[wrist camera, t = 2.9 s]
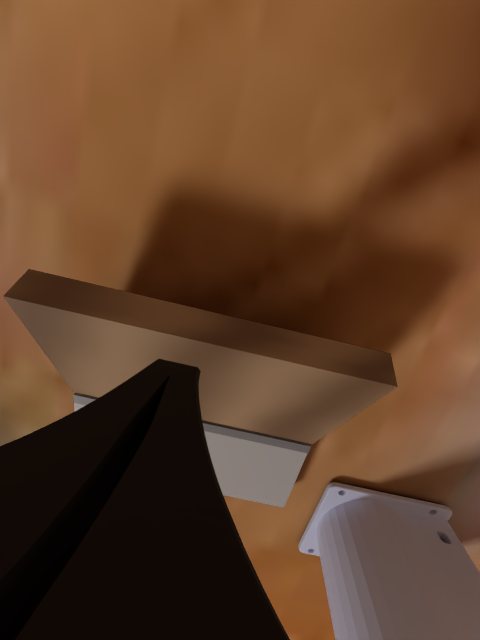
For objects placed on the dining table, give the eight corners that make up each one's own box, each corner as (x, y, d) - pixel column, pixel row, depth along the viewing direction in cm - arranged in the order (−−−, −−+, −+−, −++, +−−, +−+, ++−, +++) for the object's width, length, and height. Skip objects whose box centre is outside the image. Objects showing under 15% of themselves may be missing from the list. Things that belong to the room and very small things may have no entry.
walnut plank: (390, 353, 12) (397, 386, 11) (312, 420, 19) (312, 444, 18) (28, 269, 11) (3, 295, 10) (85, 370, 18) (73, 391, 17)
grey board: (306, 428, 19) (311, 446, 18) (282, 488, 21) (284, 509, 20) (88, 379, 19) (73, 394, 17) (85, 446, 21) (72, 465, 19)
